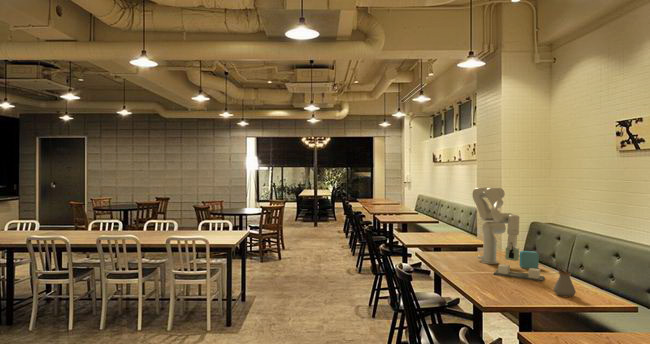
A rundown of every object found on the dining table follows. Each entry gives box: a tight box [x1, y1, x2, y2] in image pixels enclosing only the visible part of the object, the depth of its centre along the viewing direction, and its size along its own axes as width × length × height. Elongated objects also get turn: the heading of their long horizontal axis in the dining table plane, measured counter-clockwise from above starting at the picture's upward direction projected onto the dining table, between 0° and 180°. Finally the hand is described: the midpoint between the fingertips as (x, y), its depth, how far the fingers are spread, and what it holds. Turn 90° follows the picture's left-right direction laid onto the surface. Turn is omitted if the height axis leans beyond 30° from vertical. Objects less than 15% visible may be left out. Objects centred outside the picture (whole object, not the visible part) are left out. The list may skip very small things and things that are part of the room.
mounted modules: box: [497, 263, 541, 279], centre depth 293 cm, size 25×7×5 cm, turn 56°
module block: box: [504, 247, 520, 262], centre depth 310 cm, size 8×4×8 cm, turn 56°
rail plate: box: [493, 268, 545, 283], centre depth 293 cm, size 30×10×2 cm, turn 56°
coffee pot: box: [552, 263, 576, 297], centre depth 257 cm, size 21×12×15 cm, turn 169°
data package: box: [519, 250, 540, 269], centre depth 320 cm, size 12×4×12 cm, turn 82°
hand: (512, 257), depth 310 cm, fingers closed on module block, 4 cm apart
